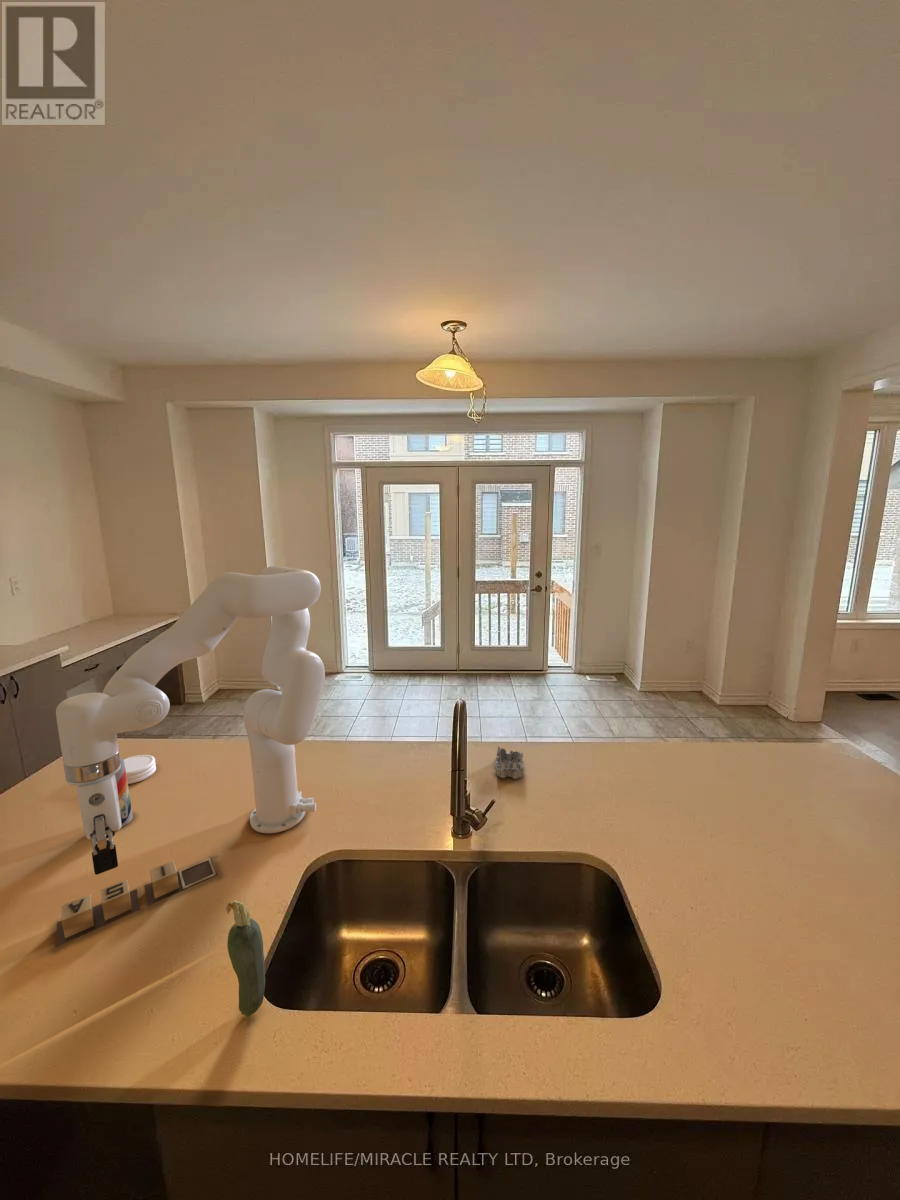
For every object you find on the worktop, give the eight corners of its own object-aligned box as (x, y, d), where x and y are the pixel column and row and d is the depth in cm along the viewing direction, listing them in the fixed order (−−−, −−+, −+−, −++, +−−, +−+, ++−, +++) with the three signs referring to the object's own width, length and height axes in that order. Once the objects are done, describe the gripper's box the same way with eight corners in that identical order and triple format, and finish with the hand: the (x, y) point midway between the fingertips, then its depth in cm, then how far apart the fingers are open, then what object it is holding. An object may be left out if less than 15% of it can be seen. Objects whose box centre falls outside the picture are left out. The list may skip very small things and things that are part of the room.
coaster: (160, 775, 127) (158, 763, 127) (116, 790, 121) (114, 778, 120) (151, 761, 134) (150, 750, 134) (109, 774, 128) (108, 763, 127)
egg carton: (497, 757, 136) (497, 745, 135) (522, 760, 135) (523, 747, 134) (494, 778, 126) (494, 764, 125) (522, 780, 124) (522, 767, 124)
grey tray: (211, 859, 97) (209, 842, 96) (217, 876, 92) (215, 858, 92) (144, 887, 90) (142, 868, 89) (148, 907, 85) (145, 888, 84)
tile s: (130, 895, 88) (127, 878, 87) (131, 909, 84) (129, 892, 84) (104, 906, 85) (100, 889, 84) (104, 921, 82) (101, 903, 81)
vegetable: (273, 1000, 69) (262, 886, 65) (263, 1033, 65) (250, 913, 61) (243, 1001, 69) (231, 887, 65) (231, 1034, 65) (216, 914, 61)
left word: (137, 890, 89) (134, 872, 88) (140, 911, 84) (137, 892, 84) (57, 924, 82) (53, 904, 81) (56, 948, 77) (52, 928, 76)
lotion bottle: (117, 832, 105) (104, 751, 101) (97, 828, 106) (83, 749, 102) (138, 815, 111) (127, 739, 107) (118, 812, 112) (106, 736, 108)
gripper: (123, 780, 75) (135, 873, 78) (116, 739, 88) (127, 820, 91) (63, 797, 70) (78, 895, 73) (66, 751, 83) (78, 835, 87)
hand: (105, 853), depth 82 cm, fingers open, 9 cm apart
